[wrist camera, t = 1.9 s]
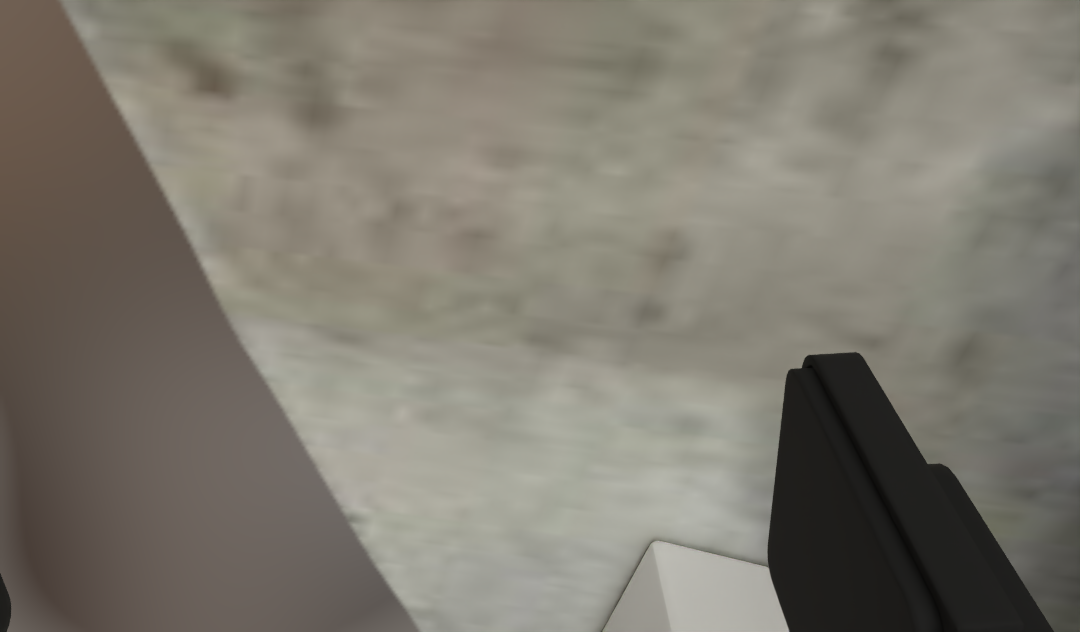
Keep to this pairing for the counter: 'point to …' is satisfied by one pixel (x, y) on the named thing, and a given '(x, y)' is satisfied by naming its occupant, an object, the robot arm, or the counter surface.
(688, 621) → the medicine bottle
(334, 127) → the counter surface
